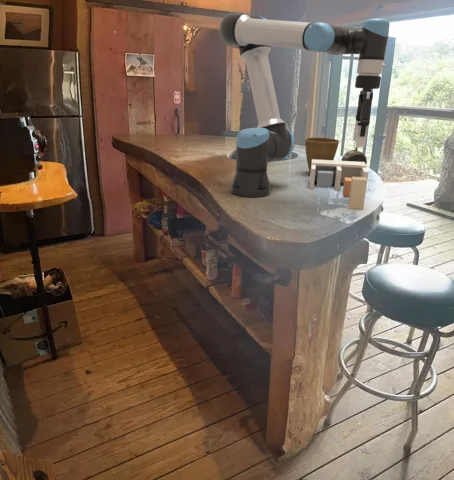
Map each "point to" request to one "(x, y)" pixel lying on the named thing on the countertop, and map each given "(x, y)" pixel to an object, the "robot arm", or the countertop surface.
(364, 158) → the alarm clock
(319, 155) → the plant pot
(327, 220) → the countertop surface
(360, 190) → the corded block
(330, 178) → the slate block
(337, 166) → the shelf lanes
